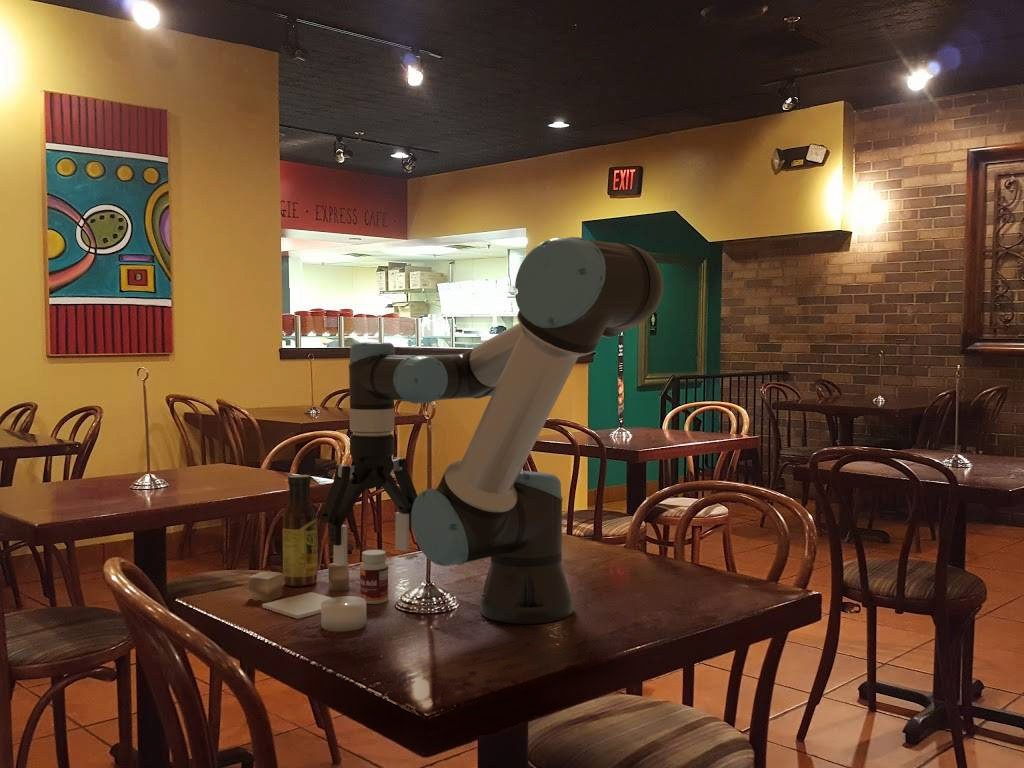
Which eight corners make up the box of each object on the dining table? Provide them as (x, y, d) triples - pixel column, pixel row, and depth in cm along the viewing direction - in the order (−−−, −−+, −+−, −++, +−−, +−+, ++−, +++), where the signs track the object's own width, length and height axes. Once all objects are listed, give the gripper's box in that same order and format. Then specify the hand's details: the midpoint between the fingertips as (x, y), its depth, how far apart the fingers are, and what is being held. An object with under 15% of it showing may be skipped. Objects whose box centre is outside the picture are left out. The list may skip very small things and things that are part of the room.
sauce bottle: (313, 588, 170) (311, 478, 169) (279, 588, 170) (277, 478, 169) (321, 579, 176) (320, 473, 175) (288, 579, 176) (286, 473, 176)
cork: (353, 588, 169) (352, 564, 169) (337, 592, 167) (336, 567, 167) (340, 585, 172) (340, 561, 172) (324, 589, 169) (324, 564, 169)
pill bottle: (354, 602, 160) (354, 553, 160) (371, 595, 164) (370, 548, 164) (377, 605, 158) (376, 556, 158) (393, 599, 162) (393, 550, 162)
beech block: (282, 596, 165) (281, 573, 165) (268, 602, 161) (267, 579, 161) (263, 594, 166) (262, 571, 166) (248, 600, 163) (248, 577, 162)
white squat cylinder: (376, 622, 148) (375, 600, 148) (344, 635, 143) (343, 612, 143) (344, 614, 153) (343, 593, 152) (311, 627, 147) (311, 605, 147)
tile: (347, 605, 158) (347, 602, 158) (297, 618, 151) (297, 615, 151) (311, 595, 165) (311, 591, 165) (262, 607, 157) (262, 604, 157)
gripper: (411, 426, 172) (411, 541, 173) (297, 437, 153) (298, 566, 154) (440, 429, 167) (440, 547, 168) (326, 441, 148) (326, 574, 149)
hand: (372, 556), depth 161 cm, fingers open, 13 cm apart
